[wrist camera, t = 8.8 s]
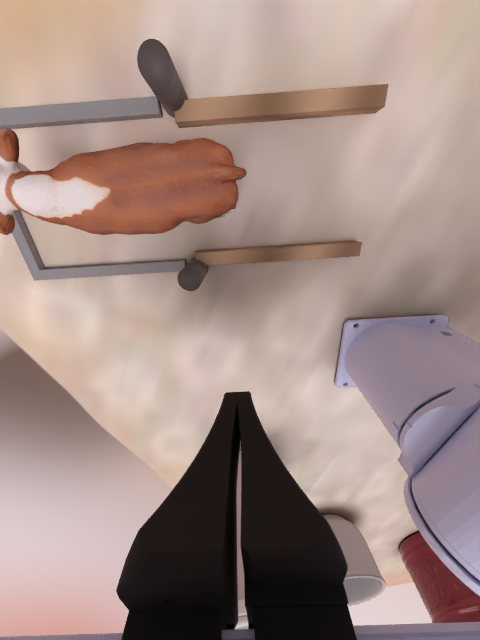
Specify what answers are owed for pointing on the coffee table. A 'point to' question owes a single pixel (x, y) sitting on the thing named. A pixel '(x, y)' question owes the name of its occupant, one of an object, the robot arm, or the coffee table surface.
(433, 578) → the canister
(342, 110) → the pair of brown bars
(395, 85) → the coffee table surface
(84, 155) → the bull figurine
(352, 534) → the teacup
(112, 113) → the frame
